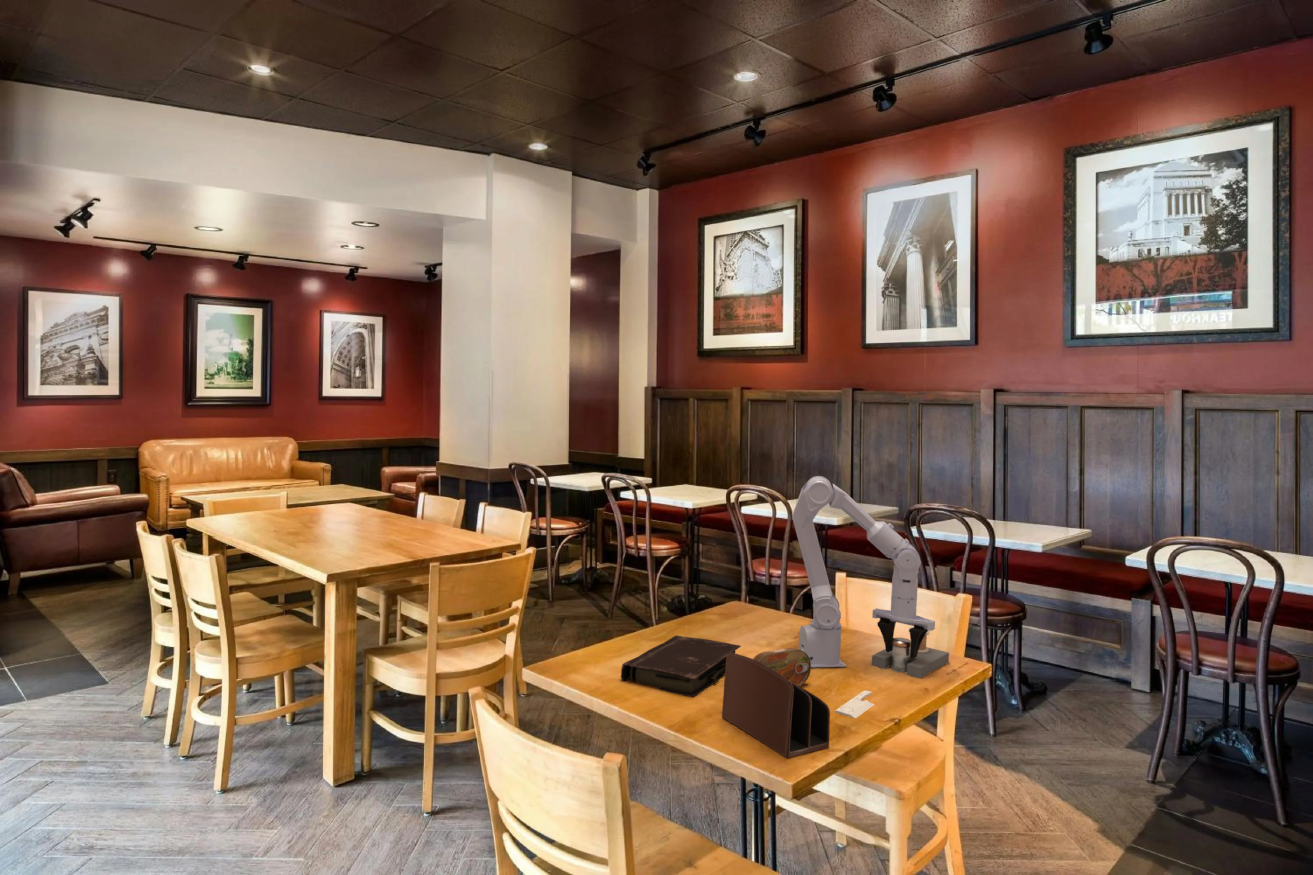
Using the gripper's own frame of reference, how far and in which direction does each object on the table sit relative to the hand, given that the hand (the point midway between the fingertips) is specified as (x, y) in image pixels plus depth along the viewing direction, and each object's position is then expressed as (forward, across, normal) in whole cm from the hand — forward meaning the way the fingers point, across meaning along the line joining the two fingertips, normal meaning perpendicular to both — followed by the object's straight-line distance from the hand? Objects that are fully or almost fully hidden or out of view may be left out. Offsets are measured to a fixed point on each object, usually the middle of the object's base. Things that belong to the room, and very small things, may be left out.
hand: (901, 653), depth 190 cm
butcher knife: (+4, -4, +27) cm, 28 cm away
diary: (+4, +33, +39) cm, 52 cm away
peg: (+4, 0, 0) cm, 4 cm away
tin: (+4, +13, +32) cm, 34 cm away
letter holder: (+4, +1, +52) cm, 52 cm away
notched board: (+4, 0, -5) cm, 6 cm away
